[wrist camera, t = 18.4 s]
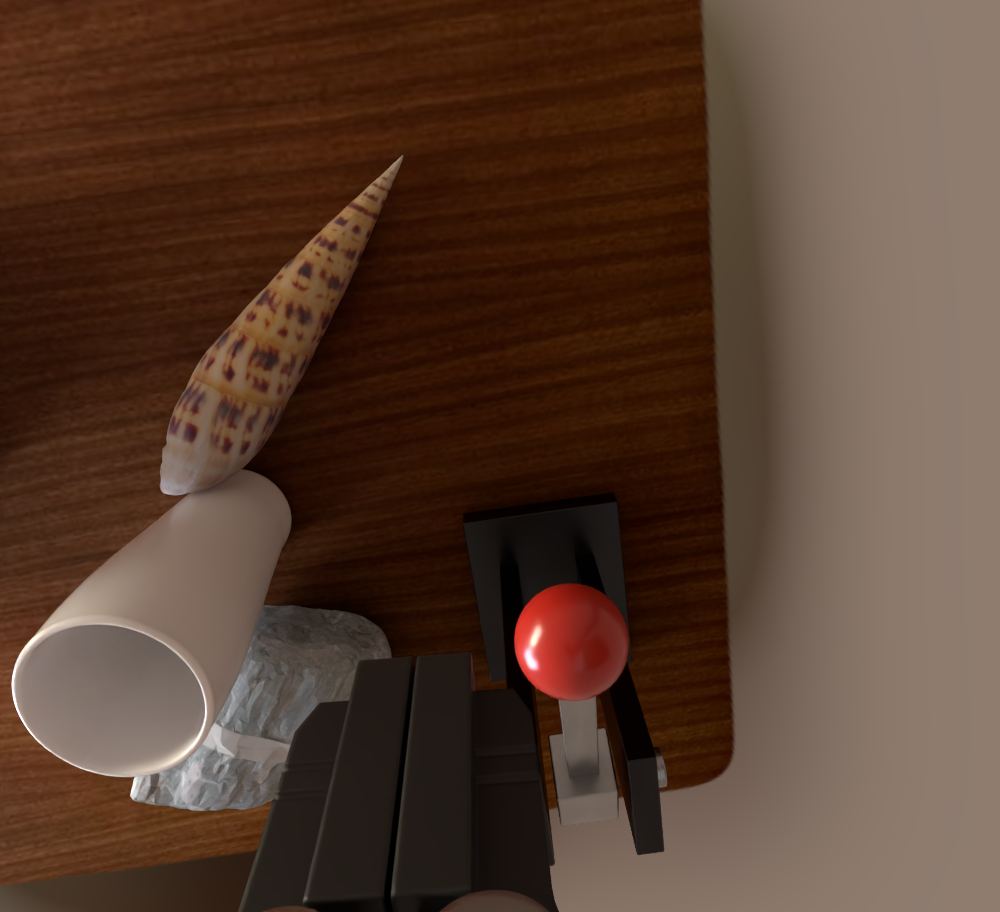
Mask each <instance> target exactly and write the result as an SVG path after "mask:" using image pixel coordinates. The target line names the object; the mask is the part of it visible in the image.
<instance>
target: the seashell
mask: <svg viewBox="0 0 1000 912" xmlns="http://www.w3.org/2000/svg"><path fill="white" fill-rule="evenodd" d="M403 156H404V155H402V156H401V157H400V158H399V159H398V160H397V161H396V162H394V163H393V164H392V165H391V166H390V167H389V168H388V169H387V170H386V171H385V172H384V173H383V174H382V175H381V176H380V177H378V178H377V179H376V180H375V181H374V182H373V183H372V184H371V185H369V186H368V187H367V188H366V189H365V190H364V191H363V192H362V193H361V194H360V195H359V196H358V197H357V198H356V199H354V200H353V201H352V202H351V203H350V204H349V205H348V206H346V207H345V208H344V209H343V211H342V212H341V213H339V214H338V215H337V216H336V217H335V218H333V219H332V220H331V221H330V222H329V223H328V224H327V225H326V226H325V227H324V228H323V229H322V230H321V232H319V233H318V234H317V235H316V236H315V237H314V238H313V239H312V240H311V241H310V242H309V243H308V244H307V245H306V246H305V247H304V248H303V249H302V251H301V252H300V253H299V254H298V255H297V256H295V257H294V258H293V259H292V260H290V261H289V262H288V263H287V264H286V265H285V266H284V267H283V268H282V269H281V270H280V272H279V273H278V274H277V275H276V276H275V277H274V279H273V280H272V281H271V282H270V283H269V285H268V286H267V287H266V288H265V289H263V290H262V291H261V292H260V293H259V294H258V295H257V296H256V297H255V298H254V300H253V301H252V302H251V303H250V304H249V305H248V306H247V307H246V308H245V309H244V310H243V311H242V312H241V314H240V315H239V316H238V317H237V319H236V320H235V321H234V322H233V324H232V325H231V326H230V327H228V328H227V329H226V330H225V331H224V332H223V333H222V334H221V335H220V337H219V338H218V339H217V340H216V341H215V342H214V343H213V345H212V346H211V347H210V348H209V349H208V350H207V352H206V353H205V354H204V356H203V357H202V359H201V360H200V362H199V363H198V365H197V367H196V368H195V370H194V372H193V374H192V376H191V378H190V380H189V382H188V385H187V388H186V390H185V391H184V392H183V393H182V395H181V398H180V399H179V401H178V403H177V405H176V406H175V408H174V412H173V415H172V417H171V420H170V423H169V427H168V430H167V437H166V440H167V444H166V447H165V446H164V448H163V449H162V452H163V454H162V459H163V462H162V464H161V466H160V467H161V469H160V470H159V473H160V476H161V483H160V485H159V486H160V488H161V491H162V492H163V493H165V494H169V495H183V494H186V493H192V492H198V491H202V490H206V489H209V488H211V487H214V486H216V485H218V484H220V483H222V482H224V481H225V480H227V479H229V478H230V477H232V476H233V475H235V474H236V473H237V472H239V471H240V470H241V469H242V468H243V467H244V466H246V465H247V464H248V463H249V462H250V461H251V460H252V458H253V457H254V456H255V455H256V454H257V453H258V452H259V451H260V450H261V448H262V447H263V446H264V444H265V443H266V441H267V440H268V438H269V437H270V435H271V434H272V433H273V431H274V429H275V427H276V426H277V424H278V422H279V420H280V419H281V416H282V414H283V412H284V410H285V408H286V405H287V403H288V400H289V398H290V396H291V395H292V394H293V392H294V391H295V389H296V387H297V386H298V384H299V382H300V380H301V379H302V377H303V375H304V373H305V371H306V370H307V368H308V366H309V363H310V361H311V359H312V357H313V355H314V352H315V349H316V347H317V345H318V344H319V342H320V340H321V338H322V337H323V335H324V333H325V331H326V329H327V327H328V325H329V323H330V321H331V319H332V317H333V315H334V312H335V310H336V308H337V306H338V304H339V302H340V300H341V298H342V297H343V295H344V293H345V291H346V289H347V287H348V285H349V283H350V281H351V278H352V275H353V273H354V271H355V269H356V267H357V266H358V264H359V261H360V259H361V256H362V254H363V251H364V249H365V246H366V244H367V242H368V240H369V238H370V235H371V233H372V230H373V228H374V225H375V223H376V221H377V219H378V216H379V214H380V211H381V209H382V207H383V204H384V202H385V200H386V198H387V195H388V193H389V190H390V188H391V186H392V184H393V181H394V179H395V177H396V175H397V172H398V170H399V167H400V165H401V162H402V160H403Z"/></svg>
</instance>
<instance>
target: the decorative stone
mask: <svg viewBox="0 0 1000 912" xmlns="http://www.w3.org/2000/svg"><path fill="white" fill-rule="evenodd" d="M271 604H272V603H271ZM384 658H391V649H390V646H389V643H388V640H387V638H386V635H385V634H384V632H383V631H382V630H381V628H380V627H378V626H377V625H376V624H374V623H373V622H371V621H369V620H368V619H366V618H365V617H363V616H360V615H357V614H354V613H350V612H346V611H338V610H325V609H311V608H305V607H300V606H295V605H288V606H273V605H263V608H262V611H261V614H260V617H259V621H258V624H257V627H256V630H255V633H254V636H253V639H252V642H251V645H250V648H249V651H248V654H247V656H246V659H245V662H244V664H243V667H242V669H241V671H240V674H239V676H238V678H237V680H236V683H235V685H234V687H233V689H232V691H231V693H230V695H229V697H228V699H227V701H226V703H225V705H224V707H223V709H222V710H221V712H220V714H219V716H218V718H217V719H216V721H215V723H214V725H213V726H212V728H211V730H210V732H209V734H208V736H207V738H206V739H205V741H204V742H203V744H202V745H201V746H200V747H199V749H198V750H197V751H196V752H195V753H194V754H193V755H192V756H190V757H189V758H188V759H186V760H185V761H183V762H182V763H180V764H179V765H177V766H175V767H173V768H171V769H168V770H165V771H163V772H159V773H156V774H152V775H146V776H138V777H135V778H134V781H133V786H132V790H131V795H130V796H131V797H132V799H133V800H135V801H137V802H144V803H147V804H152V805H168V806H172V807H176V808H180V809H191V810H198V811H206V810H220V809H224V808H233V809H241V810H244V809H248V808H254V807H259V806H261V805H263V804H265V803H267V802H269V801H271V800H273V799H274V798H275V797H276V790H277V787H278V784H279V780H280V777H281V774H282V772H284V769H285V766H284V765H285V761H286V758H287V755H288V752H289V749H290V745H291V742H292V739H293V736H294V733H295V731H296V730H297V729H298V727H299V726H300V725H301V724H302V723H303V722H304V720H305V719H306V718H307V717H308V716H309V715H310V713H311V712H312V711H313V710H314V709H315V707H316V706H317V705H318V704H319V703H322V702H335V701H348V700H349V699H350V694H351V690H352V686H353V681H354V677H355V673H356V668H357V665H358V662H359V661H360V660H370V659H384Z"/></svg>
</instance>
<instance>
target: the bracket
mask: <svg viewBox="0 0 1000 912" xmlns="http://www.w3.org/2000/svg"><path fill="white" fill-rule="evenodd" d="M463 528H464V533H465V539H466V544H467V550H468V556H469V561H470V567H471V573H472V578H473V584H474V590H475V595H476V601H477V607H478V612H479V618H480V624H481V629H482V635H483V641H484V646H485V652H486V658H487V663H488V669H489V675H490V680H491V682H495V681H503V680H506V684H507V689H509V688H513V689H514V690H515V692H516V693H517V694H518V696H519V697H520V698H521V700H522V701H523V702H524V704H525V705H526V706H527V708H528V709H529V711H530V712H531V713H532V718H533V727H534V735H535V744H536V753H537V762H538V770H539V780H540V788H541V797H542V805H543V814H544V823H545V831H546V840H547V849H548V858H549V866H553V865H554V863H555V860H554V851H553V844H552V834H551V825H550V817H549V808H548V799H547V790H546V782H545V773H544V764H543V755H542V747H541V738H540V729H539V721H538V712H537V703H536V695H535V686H534V685H533V684H532V683H531V682H530V681H529V680H528V679H527V677H526V676H525V675H524V673H523V672H522V670H521V668H520V666H519V663H518V660H517V657H516V653H515V646H514V636H515V629H516V625H517V621H518V619H519V616H520V614H521V612H522V611H523V609H524V608H525V606H526V605H527V603H528V602H529V601H530V600H531V599H532V598H533V597H534V596H535V595H537V594H538V593H540V592H541V591H543V590H544V589H546V588H549V587H551V586H554V585H558V584H564V583H578V584H583V585H587V586H590V587H593V588H595V589H597V590H599V591H600V592H602V593H603V594H605V595H606V596H607V597H609V598H610V599H611V600H612V601H613V602H614V603H615V605H616V606H617V607H618V609H619V610H620V612H621V613H622V615H623V617H624V619H625V622H626V625H627V628H628V633H629V653H628V659H627V662H626V665H625V667H624V669H623V671H622V673H621V675H620V676H619V678H618V679H617V681H616V682H615V683H614V684H613V685H612V686H611V687H610V688H609V689H607V690H606V691H604V692H603V693H601V694H600V695H599V696H600V700H601V704H602V708H603V713H604V717H605V721H606V725H607V730H608V734H609V738H610V742H611V746H612V751H613V755H614V759H615V763H616V768H617V772H618V776H619V780H620V784H621V789H622V793H623V797H624V801H625V806H626V810H627V814H628V818H629V822H630V827H631V831H632V835H633V839H634V843H635V848H636V852H637V854H638V855H642V854H649V853H657V852H664V841H663V829H662V817H661V806H660V793H659V788H661V787H666V786H667V775H666V768H665V763H664V759H663V755H662V752H661V749H660V748H659V747H653V745H652V741H651V738H650V735H649V732H648V728H647V725H646V722H645V719H644V716H643V712H642V709H641V706H640V703H639V699H638V696H637V693H636V690H635V686H634V683H633V680H632V677H631V674H630V670H629V667H628V664H627V663H632V653H631V643H630V632H629V621H628V610H627V600H626V589H625V578H624V567H623V557H622V546H621V535H620V525H619V514H618V503H617V500H616V498H615V495H614V493H607V494H600V495H593V496H586V497H579V498H572V499H565V500H558V501H551V502H544V503H537V504H530V505H523V506H515V507H508V508H501V509H494V510H487V511H480V512H473V513H466V514H463Z"/></svg>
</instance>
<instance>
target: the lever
mask: <svg viewBox="0 0 1000 912" xmlns="http://www.w3.org/2000/svg"><path fill="white" fill-rule="evenodd" d="M514 646H515V653H516V657H517V660H518V663H519V666H520V668H521V670H522V672H523V673H524V675H525V676H526V677H527V679H528V680H529V681H530V682H531V683H532V684H533V685H534V686H535V687H536V688H537V689H539V690H540V691H541V692H543V693H545V694H547V695H549V696H550V697H553V698H556V699H559V706H560V714H561V722H562V730H563V733H559V734H552V735H549V736H548V740H549V747H550V755H551V762H552V769H553V777H554V784H555V791H556V799H557V805H558V811H559V817H560V823H561V825H562V826H567V825H575V824H582V823H590V822H597V821H604V820H612V819H617V818H618V786H617V781H616V775H615V770H614V765H613V760H612V755H611V749H610V744H609V739H608V734H607V729H606V728H605V727H604V728H597V710H596V696H598V695H600V694H601V693H603V692H604V691H606V690H607V689H609V688H610V687H611V686H612V685H613V684H614V683H615V682H616V681H617V679H618V678H619V676H620V675H621V673H622V671H623V669H624V667H625V665H626V662H627V659H628V653H629V633H628V628H627V625H626V622H625V619H624V617H623V615H622V613H621V612H620V610H619V609H618V607H617V606H616V605H615V603H614V602H613V601H612V600H611V599H610V598H609V597H607V596H606V595H605V594H603V593H602V592H600V591H599V590H597V589H595V588H593V587H590V586H587V585H583V584H578V583H564V584H558V585H554V586H551V587H549V588H546V589H544V590H543V591H541V592H540V593H538V594H537V595H535V596H534V597H533V598H532V599H531V600H530V601H529V602H528V603H527V605H526V606H525V608H524V609H523V611H522V612H521V614H520V616H519V619H518V621H517V625H516V629H515V636H514Z"/></svg>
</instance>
